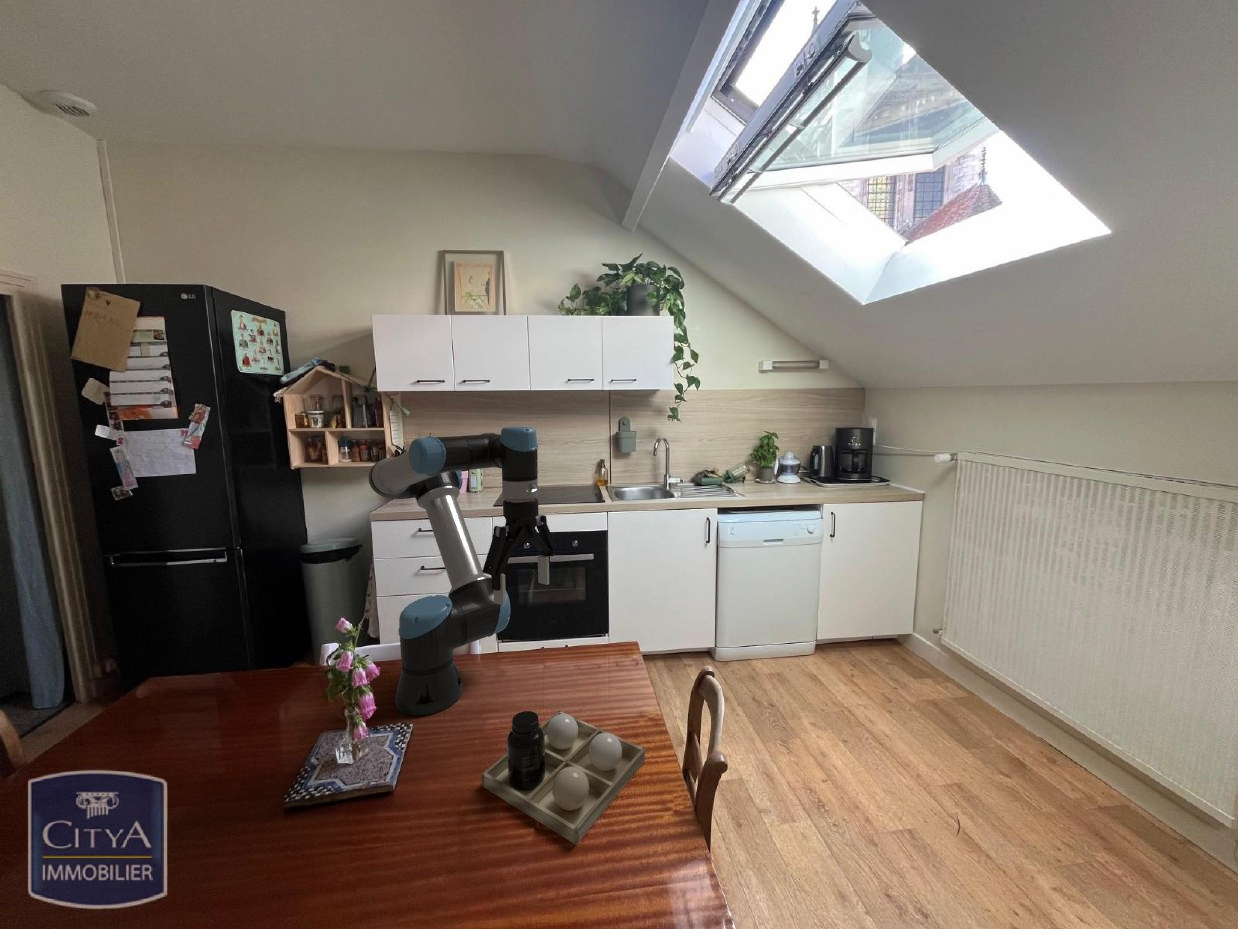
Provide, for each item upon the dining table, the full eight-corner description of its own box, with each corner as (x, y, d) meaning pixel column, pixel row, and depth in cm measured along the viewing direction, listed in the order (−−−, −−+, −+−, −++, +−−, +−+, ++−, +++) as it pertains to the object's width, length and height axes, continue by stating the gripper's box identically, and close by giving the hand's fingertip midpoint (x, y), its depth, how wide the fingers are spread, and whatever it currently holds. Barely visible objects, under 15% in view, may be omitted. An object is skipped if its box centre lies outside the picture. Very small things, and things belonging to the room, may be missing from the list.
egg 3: (582, 770, 93) (581, 739, 92) (601, 750, 98) (601, 721, 97) (609, 785, 90) (609, 753, 89) (628, 763, 95) (628, 733, 94)
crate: (482, 791, 89) (481, 773, 89) (559, 725, 107) (559, 710, 107) (576, 850, 78) (576, 831, 77) (645, 765, 96) (645, 749, 95)
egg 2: (544, 809, 84) (544, 775, 83) (568, 785, 90) (567, 753, 89) (573, 827, 81) (573, 791, 80) (596, 800, 86) (596, 767, 85)
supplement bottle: (549, 766, 94) (549, 709, 92) (539, 794, 87) (538, 733, 86) (515, 762, 95) (514, 705, 93) (502, 790, 88) (500, 729, 87)
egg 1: (540, 749, 99) (539, 719, 98) (560, 731, 104) (560, 703, 103) (564, 761, 95) (564, 731, 94) (584, 742, 101) (584, 714, 100)
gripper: (488, 511, 93) (491, 617, 96) (570, 491, 113) (571, 579, 116) (461, 507, 97) (466, 609, 100) (546, 488, 118) (547, 573, 120)
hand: (523, 593), depth 108 cm, fingers open, 13 cm apart
